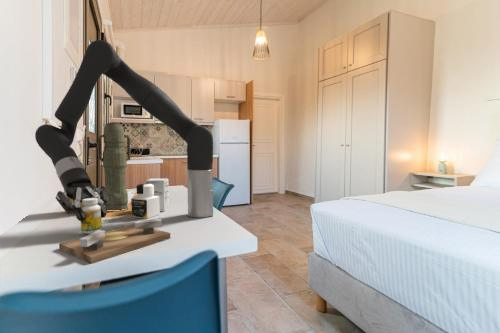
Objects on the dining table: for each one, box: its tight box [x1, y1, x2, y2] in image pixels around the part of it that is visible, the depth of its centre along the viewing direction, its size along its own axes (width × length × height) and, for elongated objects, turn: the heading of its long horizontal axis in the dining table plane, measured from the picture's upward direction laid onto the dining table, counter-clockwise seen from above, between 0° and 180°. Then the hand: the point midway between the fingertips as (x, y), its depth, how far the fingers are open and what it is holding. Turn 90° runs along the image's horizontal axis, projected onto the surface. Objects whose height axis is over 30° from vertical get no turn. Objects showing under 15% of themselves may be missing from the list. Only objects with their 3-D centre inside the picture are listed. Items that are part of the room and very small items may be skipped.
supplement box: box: [145, 178, 170, 213], centre depth 120 cm, size 7×7×13 cm
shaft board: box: [58, 218, 171, 264], centre depth 79 cm, size 16×23×5 cm
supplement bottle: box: [80, 198, 103, 235], centre depth 87 cm, size 5×5×10 cm
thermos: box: [97, 122, 132, 210], centre depth 120 cm, size 9×12×35 cm
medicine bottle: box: [130, 183, 161, 220], centre depth 109 cm, size 7×7×12 cm
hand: (94, 217), depth 86 cm, fingers closed on supplement bottle, 5 cm apart
